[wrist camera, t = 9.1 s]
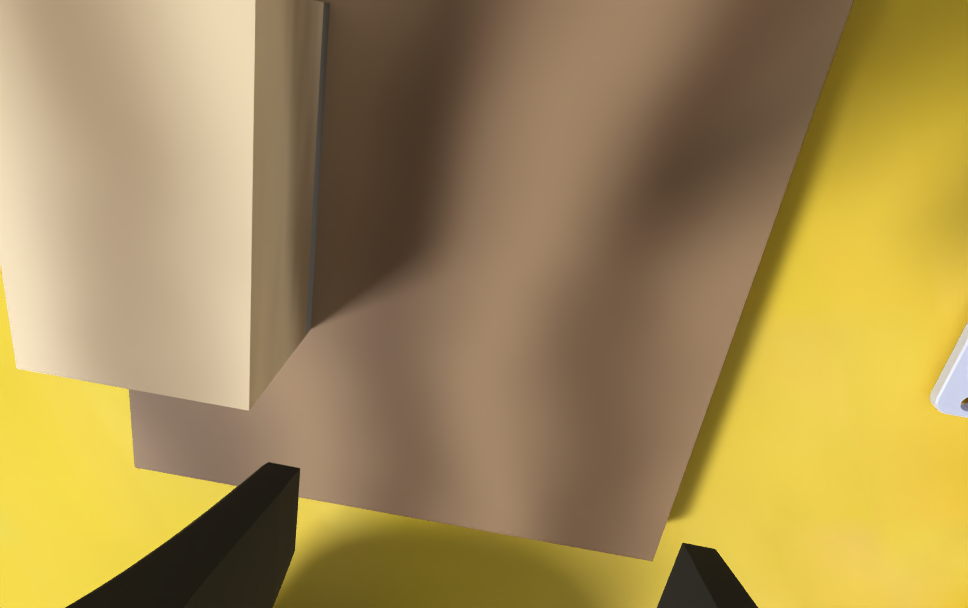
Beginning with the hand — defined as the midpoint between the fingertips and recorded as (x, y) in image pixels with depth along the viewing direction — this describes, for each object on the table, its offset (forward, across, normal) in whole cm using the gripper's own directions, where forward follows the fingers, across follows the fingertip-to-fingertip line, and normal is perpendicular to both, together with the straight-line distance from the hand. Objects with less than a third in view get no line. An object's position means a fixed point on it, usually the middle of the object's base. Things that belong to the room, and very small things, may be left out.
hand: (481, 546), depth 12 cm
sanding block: (+8, +9, -4) cm, 12 cm away
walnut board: (+9, +3, -4) cm, 11 cm away
